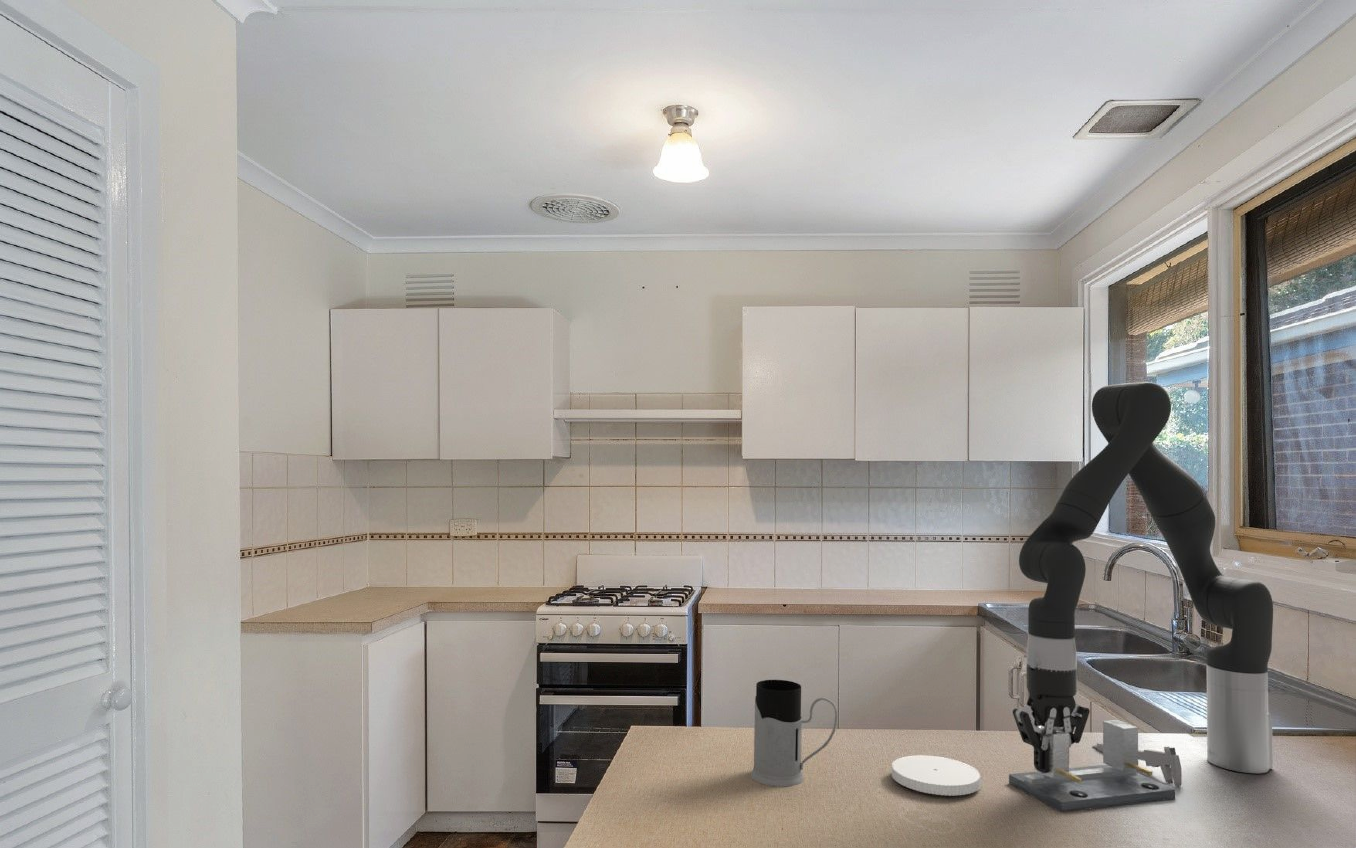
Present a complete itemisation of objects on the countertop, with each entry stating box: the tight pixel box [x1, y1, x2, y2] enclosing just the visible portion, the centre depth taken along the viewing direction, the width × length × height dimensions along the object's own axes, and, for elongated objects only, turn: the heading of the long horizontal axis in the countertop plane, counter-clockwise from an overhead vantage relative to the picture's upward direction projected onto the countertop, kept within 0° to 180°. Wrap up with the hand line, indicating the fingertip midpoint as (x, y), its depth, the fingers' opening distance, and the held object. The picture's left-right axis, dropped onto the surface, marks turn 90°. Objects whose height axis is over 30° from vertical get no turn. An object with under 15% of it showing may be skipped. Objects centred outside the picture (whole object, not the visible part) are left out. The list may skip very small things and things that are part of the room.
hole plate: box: [1008, 764, 1176, 813], centre depth 137 cm, size 22×12×2 cm, turn 107°
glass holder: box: [750, 679, 838, 788], centre depth 140 cm, size 9×14×15 cm, turn 70°
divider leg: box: [1034, 725, 1081, 783], centre depth 136 cm, size 3×8×7 cm, turn 17°
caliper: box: [1091, 742, 1183, 787], centre depth 150 cm, size 20×1×6 cm, turn 12°
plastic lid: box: [891, 754, 982, 797], centre depth 139 cm, size 14×14×2 cm
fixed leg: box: [1102, 719, 1154, 776], centre depth 140 cm, size 3×8×7 cm, turn 17°
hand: (1051, 770), depth 137 cm, fingers open, 3 cm apart
